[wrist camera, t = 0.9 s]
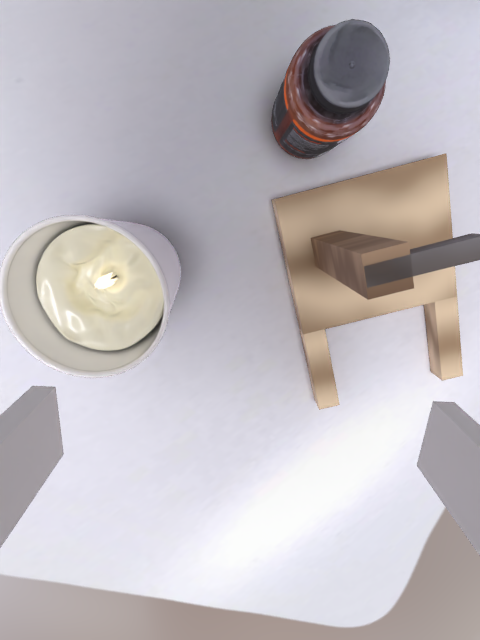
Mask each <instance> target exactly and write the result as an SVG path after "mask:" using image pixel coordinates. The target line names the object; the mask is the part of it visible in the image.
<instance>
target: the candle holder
mask: <svg viewBox="0 0 480 640" xmlns="http://www.w3.org/2000/svg"><path fill="white" fill-rule="evenodd" d="M180 281H181V265H180V260H179V257H178V255H177V252H176V250H175V248H174V247H173V245H172V244H171V243H170V241H169V240H168V239H167V238H166V237H165V236H164V235H163V234H161V233H160V232H158V231H157V230H155V229H153V228H151V227H149V226H146V225H143V224H139V223H134V222H127V221H118V220H109V219H101V218H97V217H93V216H87V215H62V216H57V217H52V218H49V219H46V220H43V221H41V222H39V223H37V224H35V225H33V226H31V227H30V228H28V229H27V230H26V231H24V232H23V233H22V234H21V235H20V236H19V237H18V238H17V239H16V240H15V241H14V242H13V244H12V245H11V246H10V248H9V249H8V251H7V253H6V255H5V257H4V259H3V262H2V265H1V268H0V307H1V310H2V313H3V316H4V319H5V321H6V323H7V325H8V327H9V329H10V331H11V332H12V334H13V335H14V337H15V338H16V339H17V341H18V342H19V343H20V344H21V345H22V346H23V348H24V349H25V350H26V351H28V352H29V353H30V354H31V355H32V356H33V357H35V358H36V359H37V360H39V361H40V362H42V363H43V364H45V365H47V366H48V367H50V368H52V369H55V370H57V371H59V372H62V373H65V374H68V375H72V376H77V377H84V378H102V377H109V376H114V375H117V374H121V373H123V372H126V371H128V370H130V369H132V368H134V367H135V366H137V365H139V364H140V363H141V362H143V361H144V360H145V359H146V358H147V357H148V356H149V355H150V354H151V353H152V352H153V351H154V350H155V348H156V347H157V345H158V344H159V342H160V340H161V339H162V337H163V334H164V332H165V329H166V326H167V323H168V318H169V315H170V312H171V309H172V306H173V304H174V301H175V298H176V295H177V292H178V289H179V286H180Z"/></svg>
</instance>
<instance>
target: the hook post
mask: <svg viewBox="0 0 480 640" xmlns="http://www.w3.org/2000/svg"><path fill="white" fill-rule="evenodd" d="M311 243H312V249H313V254H314V259H315V264H316V267H317V268H319V269H320V270H322V271H323V272H325V273H327V274H328V275H330V276H331V277H333V278H334V279H336V280H338V281H339V282H341V283H342V284H344V285H345V286H347V287H349V288H350V289H352V290H353V291H355V292H356V293H358V294H360V295H361V296H363V297H364V298H366V299H367V300H369V299H373V298H377V297H381V296H385V295H389V294H393V293H397V292H401V291H405V290H409V289H413V288H414V282H413V276H417V275H421V274H425V273H429V272H433V271H437V270H441V269H445V268H449V267H453V266H457V265H461V264H465V263H469V262H473V261H477V260H480V234H468V235H464V236H460V237H456V238H452V239H448V240H444V241H440V242H436V243H432V244H428V245H425V246H421V247H417V248H413V249H410V245H409V242H407V241H401V240H395V239H389V238H383V237H377V236H371V235H365V234H359V233H353V232H347V231H341V230H339V231H335V232H331V233H327V234H323V235H320V236H316V237H312V238H311Z"/></svg>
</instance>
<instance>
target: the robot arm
mask: <svg viewBox="0 0 480 640" xmlns="http://www.w3.org/2000/svg"><path fill="white" fill-rule="evenodd" d="M63 454H64V453H63V445H62V437H61V429H60V420H59V412H58V404H57V396H56V388H55V387H46V386H32V387H31V388H30V389H29V390H28V391H26V392H25V393H24V394H23V395H22V396H21V397H20V398H19V399H18V400H17V401H16V402H14V403H13V404H12V405H11V406H10V407H9V408H8V409H7V410H6V411H5V412H4V413H2V414H1V415H0V548H1V546H2V545H3V543H4V542H5V540H6V539H7V537H8V536H9V534H10V533H11V531H12V530H13V528H14V527H15V525H16V524H17V522H18V521H19V519H20V518H21V517H22V515H23V514H24V512H25V511H26V509H27V508H28V506H29V505H30V503H31V502H32V500H33V499H34V497H35V496H36V494H37V493H38V491H39V490H40V488H41V487H42V485H43V484H44V482H45V481H46V479H47V478H48V476H49V475H50V474H51V472H52V471H53V469H54V468H55V466H56V465H57V463H58V462H59V460H60V459H61V457H62V456H63ZM417 467H418V468H419V469H420V471H421V472H422V474H423V475H424V477H425V478H426V479H427V481H428V482H429V484H430V485H431V487H432V488H433V490H434V491H435V492H436V494H437V495H438V497H439V498H440V500H441V501H442V502H443V504H444V505H445V507H446V508H447V510H448V511H449V513H450V514H451V515H452V517H453V518H454V520H455V521H456V523H457V524H458V525H459V527H460V528H461V530H462V531H463V532H464V534H465V535H466V537H467V538H468V540H469V541H470V543H471V544H472V546H473V547H474V548H475V550H476V551H477V553H478V554H479V556H480V425H479V424H478V423H477V422H476V421H474V420H473V419H472V418H471V417H470V416H469V415H468V414H467V413H466V412H465V411H463V410H462V409H461V408H460V407H459V406H458V405H457V404H456V403H455V402H436V401H433V403H432V407H431V411H430V415H429V419H428V423H427V427H426V431H425V435H424V439H423V443H422V447H421V451H420V454H419V458H418V462H417Z"/></svg>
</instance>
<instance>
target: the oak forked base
mask: <svg viewBox="0 0 480 640" xmlns="http://www.w3.org/2000/svg"><path fill="white" fill-rule="evenodd" d="M272 204H273V209H274V213H275V218H276V222H277V227H278V232H279V236H280V241H281V246H282V250H283V255H284V260H285V264H286V269H287V273H288V278H289V283H290V287H291V292H292V297H293V301H294V306H295V311H296V315H297V320H298V325H299V329H300V334H301V338H302V343H303V348H304V352H305V357H306V362H307V366H308V371H309V376H310V380H311V385H312V389H313V394H314V399H315V401H316V403H317V406H318V408H319V410H320V409H324V408H328V407H333V406H337V405H339V400H338V394H337V389H336V384H335V379H334V374H333V369H332V363H331V358H330V353H329V348H328V343H327V338H326V332H325V329H327V328H331V327H335V326H339V325H344V324H348V323H352V322H356V321H360V320H364V319H368V318H372V317H376V316H380V315H384V314H388V313H392V312H396V311H400V310H404V309H408V308H412V307H416V306H420V305H424V311H425V321H426V330H427V340H428V350H429V359H430V369H431V372H432V373H433V374H434V375H436V376H437V377H438V378H440V379H441V380H446V379H451V378H455V377H459V376H463V370H462V357H461V343H460V330H459V316H458V303H457V289H456V276H455V266H453V267H449V268H445V269H441V270H437V271H433V272H429V273H425V274H421V275H417V276H413V282H414V288H413V289H409V290H405V291H401V292H397V293H393V294H389V295H385V296H381V297H377V298H373V299H369V300H367V299H366V298H364V297H363V296H361V295H360V294H358V293H356V292H355V291H353V290H352V289H350V288H349V287H347V286H345V285H344V284H342V283H341V282H339V281H338V280H336V279H334V278H333V277H331V276H330V275H328V274H327V273H325V272H323V271H322V270H320V269H319V268H317V267H316V264H315V259H314V254H313V249H312V243H311V238H312V237H316V236H320V235H323V234H327V233H331V232H335V231H339V230H341V231H347V232H353V233H359V234H365V235H371V236H377V237H383V238H389V239H395V240H401V241H407V242H409V245H410V249H413V248H417V247H421V246H425V245H428V244H432V243H436V242H440V241H444V240H448V239H452V238H453V236H452V222H451V209H450V195H449V182H448V168H447V155H446V154H442V155H439V156H435V157H431V158H427V159H423V160H420V161H416V162H412V163H408V164H405V165H401V166H397V167H393V168H390V169H386V170H382V171H378V172H375V173H371V174H367V175H363V176H360V177H356V178H352V179H348V180H345V181H341V182H337V183H333V184H329V185H326V186H322V187H318V188H314V189H311V190H307V191H303V192H299V193H296V194H292V195H288V196H284V197H281V198H277V199H273V200H272Z"/></svg>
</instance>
